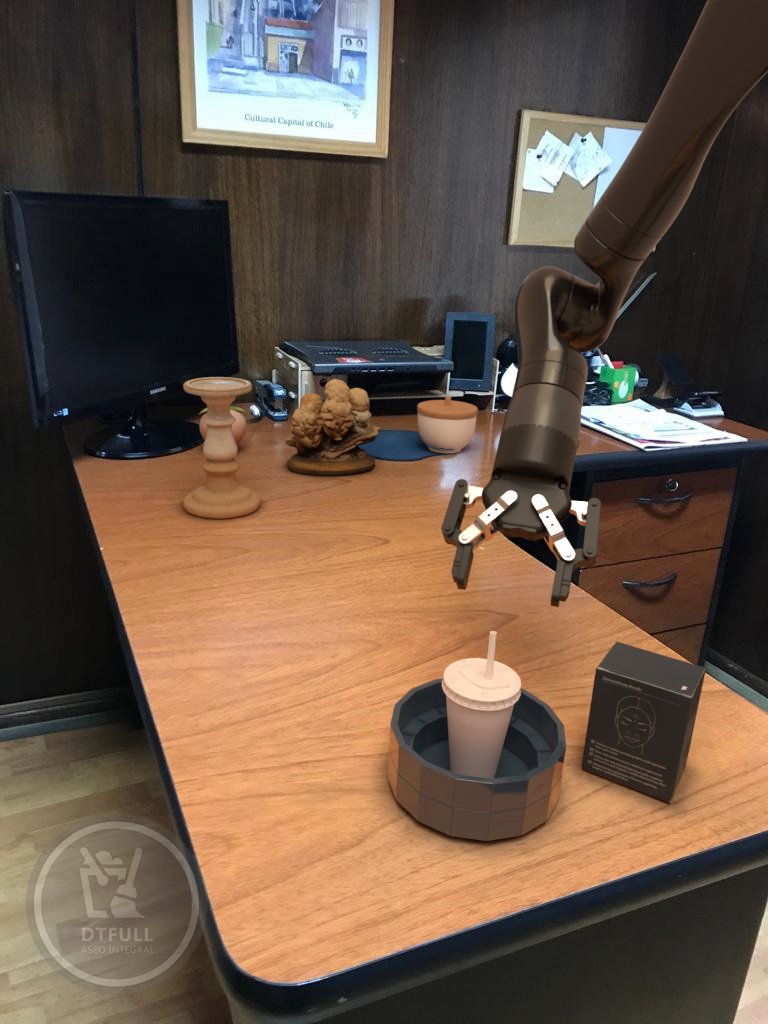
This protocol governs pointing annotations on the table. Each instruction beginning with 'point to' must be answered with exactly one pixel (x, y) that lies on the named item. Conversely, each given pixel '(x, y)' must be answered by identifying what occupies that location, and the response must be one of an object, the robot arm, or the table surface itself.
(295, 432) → the owl figurine
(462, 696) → the smoothie
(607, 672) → the box
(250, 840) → the table surface
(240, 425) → the decorative fruit
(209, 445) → the candle holder
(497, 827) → the bowl
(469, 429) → the lidded bowl
